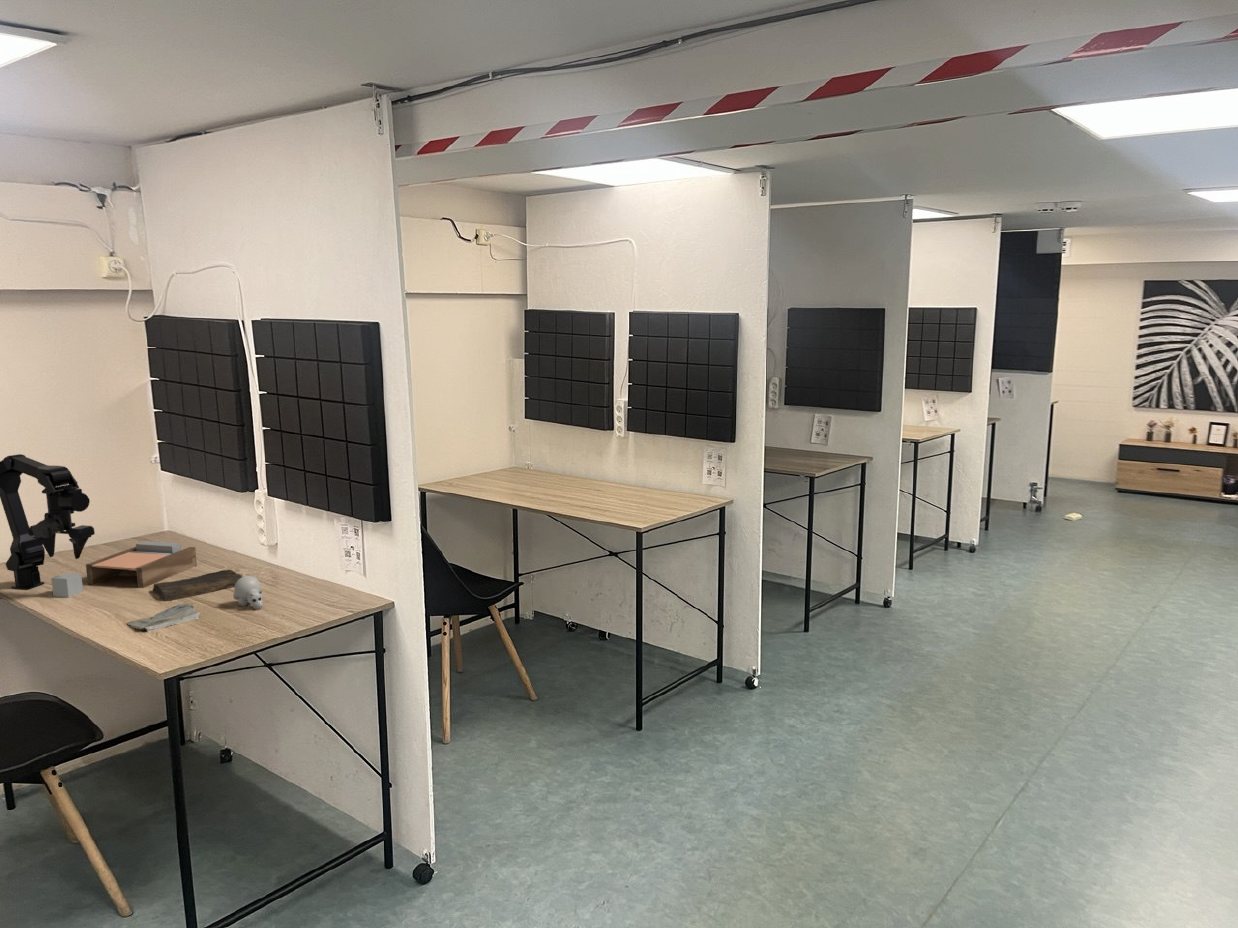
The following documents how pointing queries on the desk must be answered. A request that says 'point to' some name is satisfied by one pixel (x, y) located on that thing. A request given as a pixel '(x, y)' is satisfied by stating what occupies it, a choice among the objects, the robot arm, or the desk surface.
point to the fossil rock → (166, 618)
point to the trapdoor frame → (146, 567)
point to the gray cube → (67, 585)
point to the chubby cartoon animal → (248, 592)
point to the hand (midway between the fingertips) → (64, 557)
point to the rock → (196, 585)
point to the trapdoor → (140, 555)
